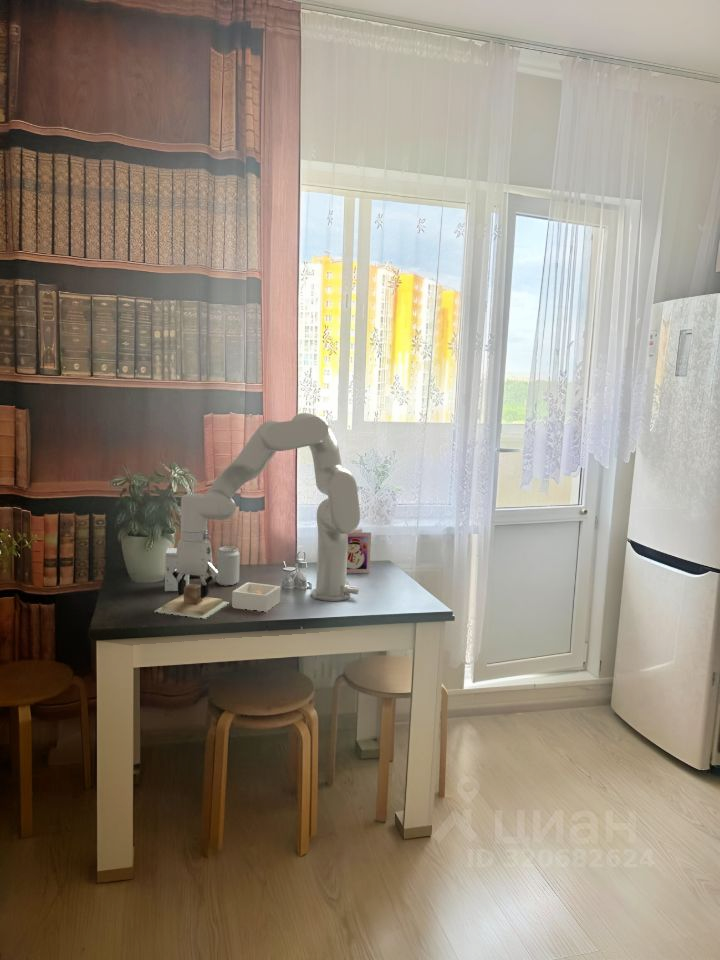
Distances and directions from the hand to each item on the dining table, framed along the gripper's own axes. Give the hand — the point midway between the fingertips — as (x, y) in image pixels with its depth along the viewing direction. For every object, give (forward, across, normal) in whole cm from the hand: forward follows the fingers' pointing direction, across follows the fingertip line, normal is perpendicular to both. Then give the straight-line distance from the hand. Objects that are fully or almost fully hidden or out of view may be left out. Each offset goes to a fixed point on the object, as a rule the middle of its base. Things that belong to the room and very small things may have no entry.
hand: (193, 595), depth 216 cm
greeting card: (+4, -32, -61) cm, 69 cm away
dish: (+4, -16, -10) cm, 19 cm away
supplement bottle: (+4, +16, -32) cm, 36 cm away
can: (+4, +2, -28) cm, 28 cm away
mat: (+4, 0, 0) cm, 4 cm away
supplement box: (+4, +14, -16) cm, 22 cm away
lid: (+3, 0, 0) cm, 3 cm away
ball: (+1, -16, -10) cm, 19 cm away
